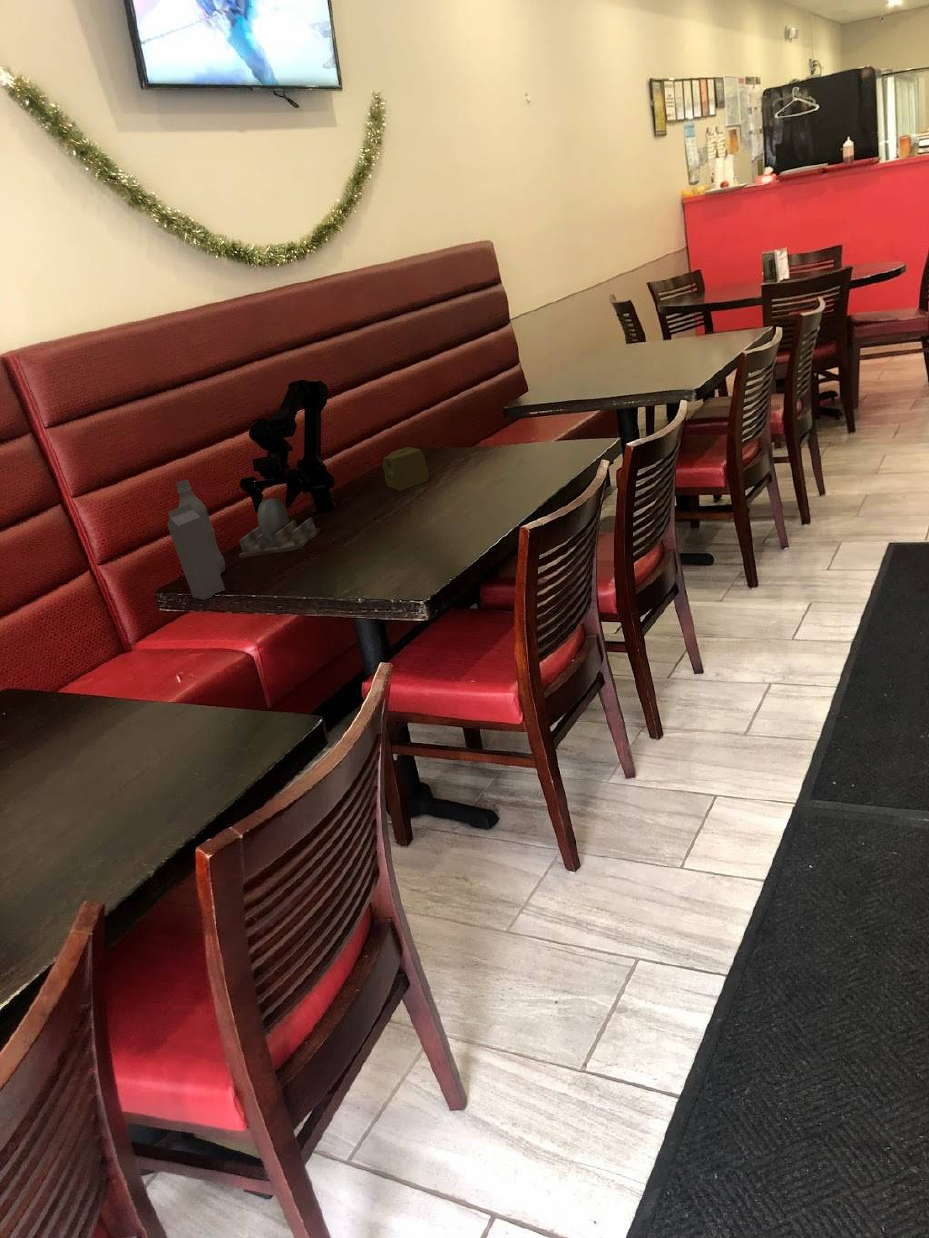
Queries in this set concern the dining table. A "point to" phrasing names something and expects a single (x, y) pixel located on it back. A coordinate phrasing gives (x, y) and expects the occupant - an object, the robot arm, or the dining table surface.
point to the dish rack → (278, 539)
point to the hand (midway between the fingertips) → (271, 510)
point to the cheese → (405, 468)
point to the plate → (271, 518)
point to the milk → (194, 552)
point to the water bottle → (201, 510)
